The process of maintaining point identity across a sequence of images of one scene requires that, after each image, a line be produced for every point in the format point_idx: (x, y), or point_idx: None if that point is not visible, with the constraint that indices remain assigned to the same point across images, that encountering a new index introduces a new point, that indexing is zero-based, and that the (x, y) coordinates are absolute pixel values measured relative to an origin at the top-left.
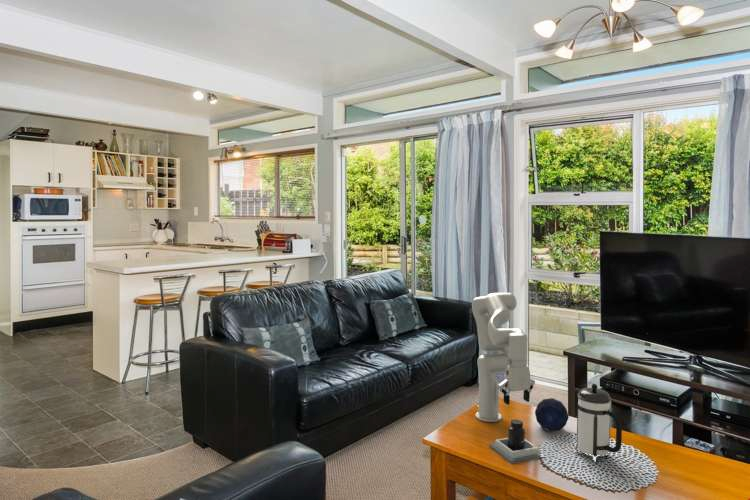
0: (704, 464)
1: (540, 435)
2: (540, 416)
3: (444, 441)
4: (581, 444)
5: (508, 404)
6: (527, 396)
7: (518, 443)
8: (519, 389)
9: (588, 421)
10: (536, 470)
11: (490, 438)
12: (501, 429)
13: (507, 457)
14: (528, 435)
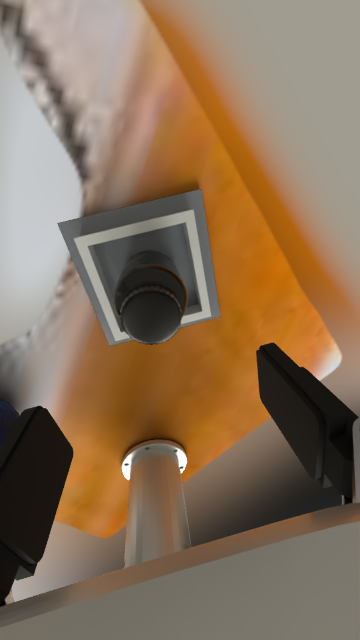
0: None
1: (34, 375)
2: (2, 436)
3: (316, 347)
4: None
5: (270, 343)
6: (17, 463)
7: (153, 255)
8: (193, 604)
9: None
10: (124, 111)
11: (194, 360)
12: (144, 406)
13: (202, 220)
14: (74, 375)
